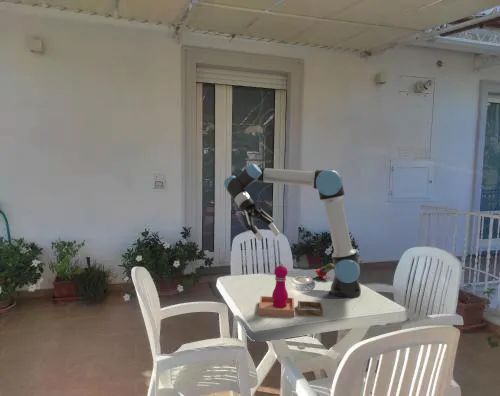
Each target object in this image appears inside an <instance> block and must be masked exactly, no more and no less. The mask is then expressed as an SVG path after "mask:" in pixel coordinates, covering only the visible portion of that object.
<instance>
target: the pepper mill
mask: <svg viewBox="0 0 500 396" xmlns="http://www.w3.org/2000/svg"><path fill="white" fill-rule="evenodd" d="M273 272H274V275H275V278H274V280H275V287H274V289H273V291H272V295H271V297H272V298H273V299H274V301H273V306H275V307H278V308H284V307H286V306H287V302H286V300H287V299H288V298H289V294H288V291H287V288H286V281H287V275H288V268H287V267H286V266H284V263H283V262H279V265H278V266H276V267H275V268H274V271H273Z"/></svg>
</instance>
